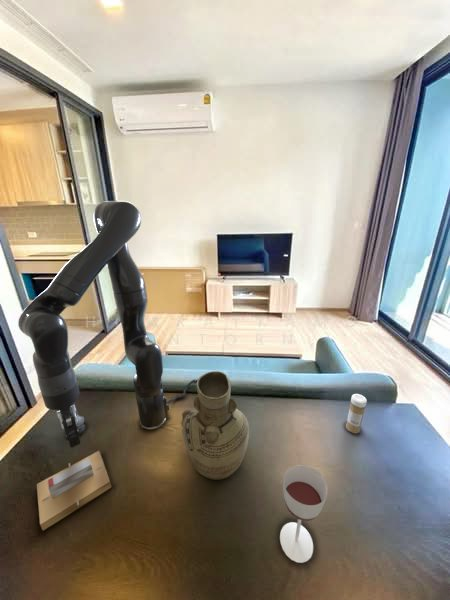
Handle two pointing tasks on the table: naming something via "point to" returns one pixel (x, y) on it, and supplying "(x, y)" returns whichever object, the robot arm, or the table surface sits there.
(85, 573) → the table surface
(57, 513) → the base
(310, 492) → the wineglass
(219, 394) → the ceramic vessel
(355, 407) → the sprinkles bottle
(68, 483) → the white rectangular block
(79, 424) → the grey stone statuette
